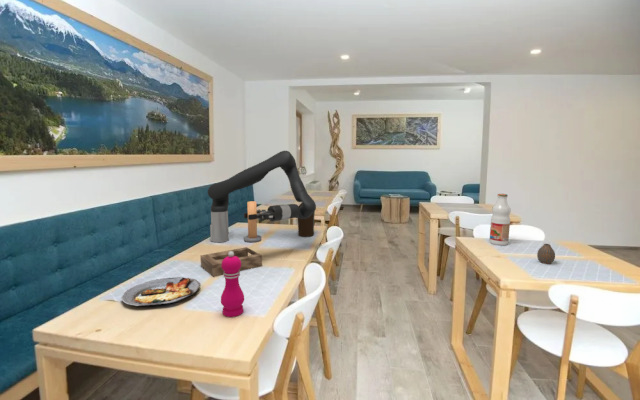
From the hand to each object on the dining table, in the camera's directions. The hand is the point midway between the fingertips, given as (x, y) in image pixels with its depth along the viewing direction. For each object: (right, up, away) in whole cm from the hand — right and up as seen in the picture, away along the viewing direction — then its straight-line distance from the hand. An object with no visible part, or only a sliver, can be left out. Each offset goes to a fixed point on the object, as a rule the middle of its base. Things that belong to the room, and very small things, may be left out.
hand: (246, 216), depth 152 cm
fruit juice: (+134, -17, +38) cm, 140 cm away
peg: (+2, -11, +3) cm, 12 cm away
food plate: (-23, -27, -32) cm, 47 cm away
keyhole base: (-6, -22, -2) cm, 23 cm away
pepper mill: (+5, -28, -45) cm, 53 cm away
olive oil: (+25, -14, +55) cm, 62 cm away
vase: (+138, -22, +5) cm, 140 cm away
